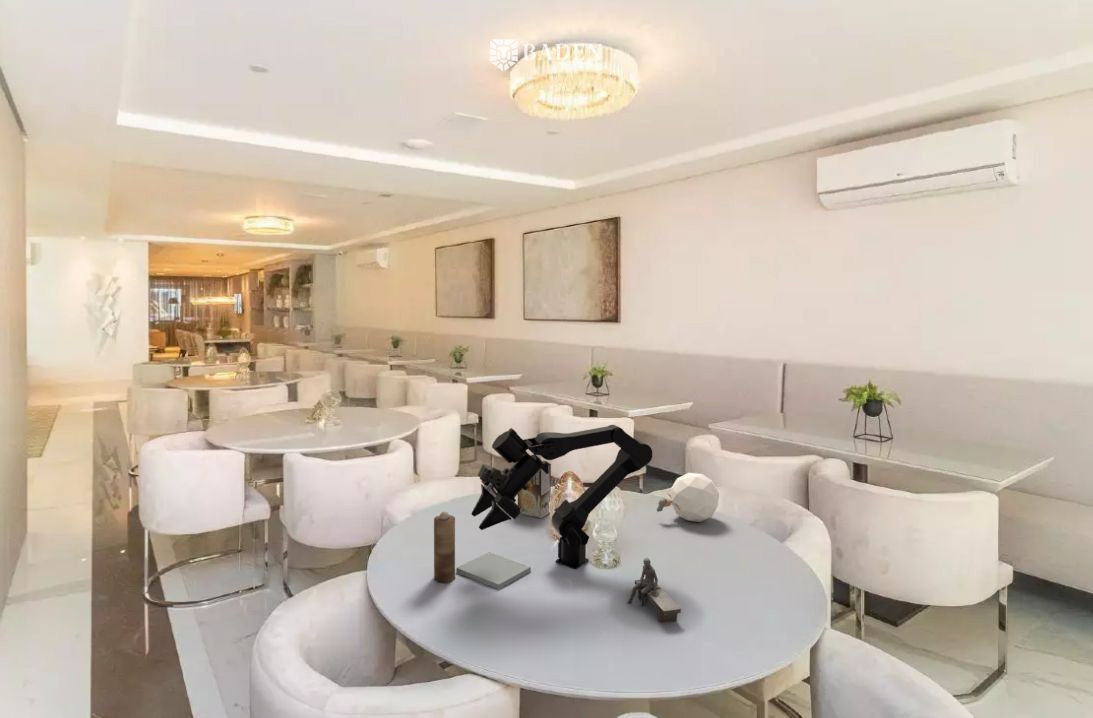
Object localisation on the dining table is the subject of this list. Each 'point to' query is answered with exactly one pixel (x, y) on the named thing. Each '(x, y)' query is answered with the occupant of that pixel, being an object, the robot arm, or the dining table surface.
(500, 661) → the dining table surface
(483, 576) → the slate board
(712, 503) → the faceted white ball
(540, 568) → the dining table surface
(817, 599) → the dining table surface
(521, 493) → the coffee box
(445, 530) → the pepper mill
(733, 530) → the dining table surface
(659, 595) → the sculpture
